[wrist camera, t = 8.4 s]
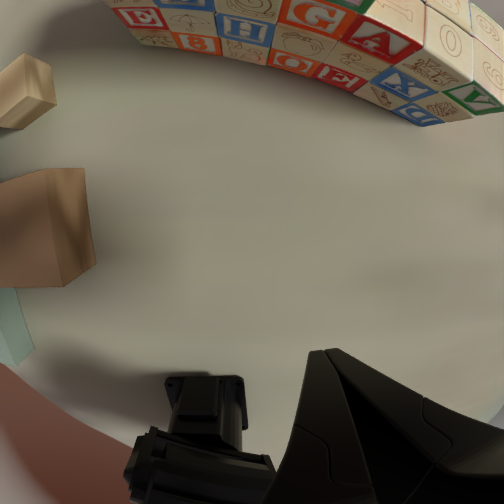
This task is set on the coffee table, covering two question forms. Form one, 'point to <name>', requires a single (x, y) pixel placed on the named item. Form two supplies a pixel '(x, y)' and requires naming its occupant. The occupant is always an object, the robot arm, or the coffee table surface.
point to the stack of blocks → (347, 46)
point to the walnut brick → (44, 229)
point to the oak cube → (25, 92)
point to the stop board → (12, 330)
